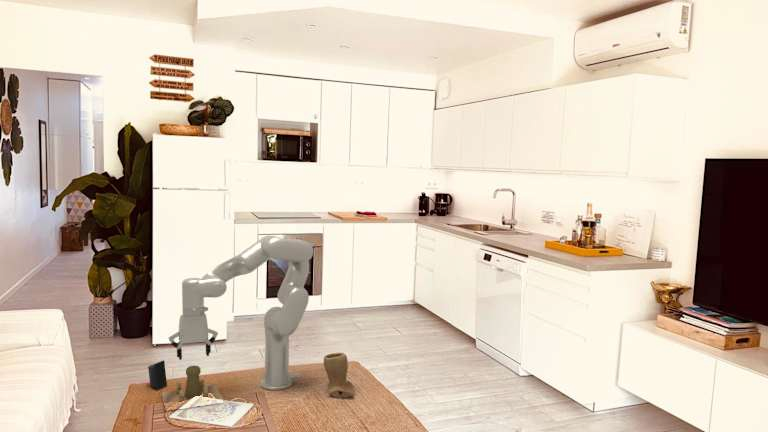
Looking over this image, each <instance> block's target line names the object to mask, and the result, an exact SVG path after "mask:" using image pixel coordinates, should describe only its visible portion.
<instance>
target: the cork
mask: <svg viewBox="0 0 768 432" xmlns="http://www.w3.org/2000/svg"><path fill="white" fill-rule="evenodd" d="M185 374H186V376H187V377H186V382H185V383H186V384H185V388H184V389H185V396H184V397H185V398H188V399H191V398H193V397H195V396H200V395H201V387H200V380H201V379H200V375H201V367H200V366H198V365H189V366H188V367H187V368H186V369H185Z"/></svg>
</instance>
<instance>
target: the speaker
mask: <svg viewBox="0 0 768 432" xmlns="http://www.w3.org/2000/svg"><path fill="white" fill-rule="evenodd" d="M147 368H148V377H149V386H150V388H155V389H156V391H159V390H162V389H164V388H166V387H168V382H167V381H168V380H167V374H166V363H165V360H164V359H163V360H161V361H158V362H156V363H153V364H150V365H149V366H147Z"/></svg>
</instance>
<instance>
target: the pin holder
mask: <svg viewBox="0 0 768 432" xmlns="http://www.w3.org/2000/svg"><path fill="white" fill-rule="evenodd" d="M200 387H201V395H202V394H203V397H208V393H211V394H213V396H214V397H215V398H217V399H223V400H224V398H223V395H222V393H221V392H220V389H219V387H218V386H217V384H213V385H205V379H203V378H202V379H200ZM185 389H186V388H183V389H182V382H181V381H180V382H179V381H178V382H176V389H174V390H168V391H161V393H160V395H161V400H162V404H163V403H169V402H182V401H185V400H189V399H188V398H185V397H184V396H185Z"/></svg>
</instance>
